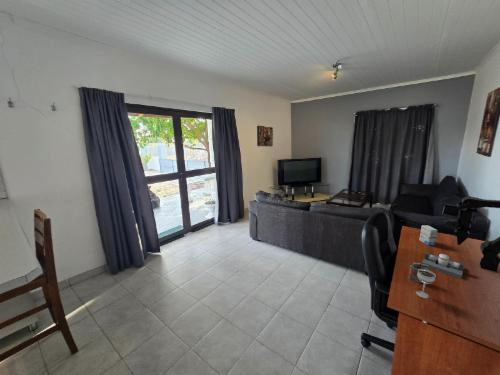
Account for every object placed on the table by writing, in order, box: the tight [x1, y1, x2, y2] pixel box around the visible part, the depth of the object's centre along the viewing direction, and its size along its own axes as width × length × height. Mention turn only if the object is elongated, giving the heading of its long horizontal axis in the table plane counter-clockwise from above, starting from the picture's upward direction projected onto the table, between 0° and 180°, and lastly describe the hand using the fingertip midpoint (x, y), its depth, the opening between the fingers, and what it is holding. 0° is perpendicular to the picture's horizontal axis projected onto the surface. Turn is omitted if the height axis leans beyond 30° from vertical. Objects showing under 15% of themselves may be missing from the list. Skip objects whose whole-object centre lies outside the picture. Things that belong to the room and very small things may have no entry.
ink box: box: [418, 224, 438, 246], centre depth 151 cm, size 9×5×12 cm, turn 179°
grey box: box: [407, 262, 430, 284], centre depth 113 cm, size 8×3×10 cm, turn 62°
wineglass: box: [415, 269, 437, 299], centre depth 103 cm, size 7×7×12 cm
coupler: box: [436, 253, 450, 268], centre depth 125 cm, size 5×5×7 cm
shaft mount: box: [421, 251, 465, 280], centre depth 125 cm, size 17×14×6 cm
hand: (459, 241), depth 129 cm, fingers open, 9 cm apart
